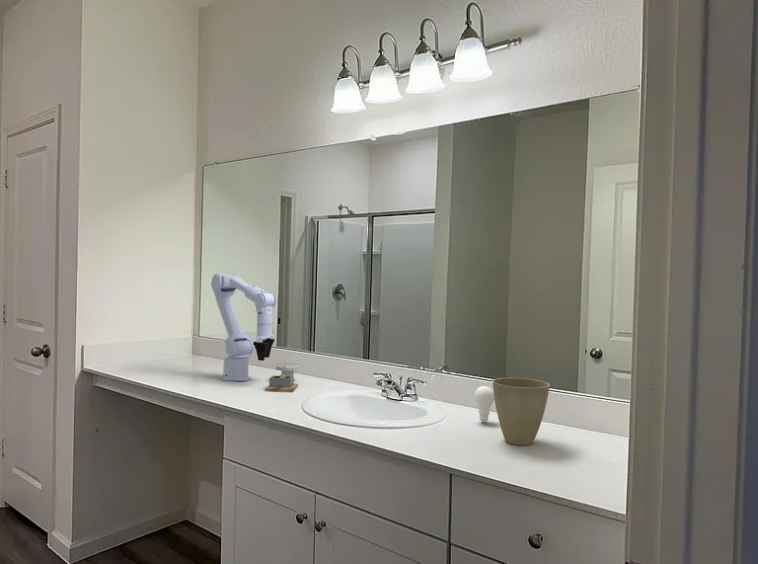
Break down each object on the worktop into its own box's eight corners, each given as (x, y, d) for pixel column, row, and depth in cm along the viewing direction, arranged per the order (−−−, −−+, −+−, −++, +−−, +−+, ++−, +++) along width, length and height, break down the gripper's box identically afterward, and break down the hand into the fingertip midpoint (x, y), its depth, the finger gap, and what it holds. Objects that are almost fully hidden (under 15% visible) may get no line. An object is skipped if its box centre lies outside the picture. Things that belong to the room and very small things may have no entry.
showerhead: (272, 364, 220) (279, 360, 230) (272, 383, 220) (279, 378, 230) (296, 365, 219) (302, 361, 229) (295, 384, 219) (301, 379, 229)
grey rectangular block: (269, 386, 207) (269, 378, 207) (272, 383, 212) (272, 375, 212) (290, 387, 206) (290, 378, 206) (293, 384, 212) (293, 376, 212)
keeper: (265, 391, 205) (265, 377, 205) (272, 385, 215) (272, 372, 214) (292, 392, 204) (292, 378, 204) (297, 386, 214) (298, 373, 214)
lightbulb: (482, 426, 165) (483, 388, 164) (469, 421, 170) (470, 385, 170) (498, 424, 167) (499, 387, 167) (485, 419, 173) (486, 383, 173)
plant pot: (559, 448, 145) (561, 386, 145) (508, 451, 141) (510, 388, 141) (528, 432, 160) (530, 376, 159) (481, 435, 155) (482, 377, 155)
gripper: (270, 325, 209) (269, 362, 209) (279, 322, 223) (278, 356, 224) (251, 325, 209) (250, 361, 210) (261, 322, 224) (260, 355, 224)
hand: (263, 358), depth 217 cm, fingers open, 7 cm apart
